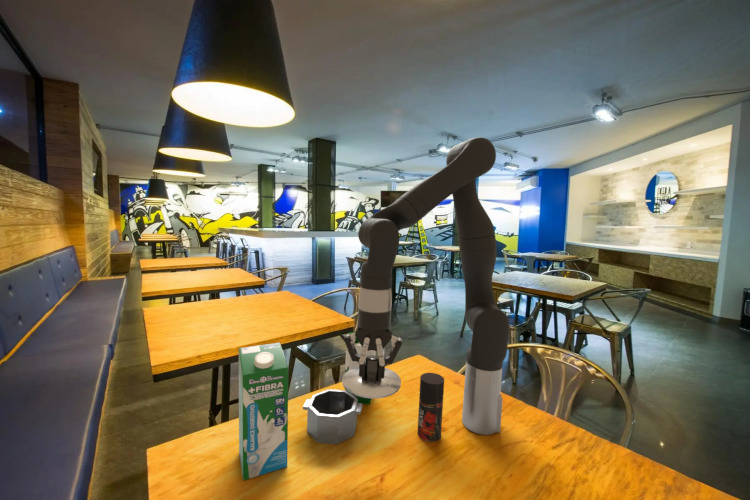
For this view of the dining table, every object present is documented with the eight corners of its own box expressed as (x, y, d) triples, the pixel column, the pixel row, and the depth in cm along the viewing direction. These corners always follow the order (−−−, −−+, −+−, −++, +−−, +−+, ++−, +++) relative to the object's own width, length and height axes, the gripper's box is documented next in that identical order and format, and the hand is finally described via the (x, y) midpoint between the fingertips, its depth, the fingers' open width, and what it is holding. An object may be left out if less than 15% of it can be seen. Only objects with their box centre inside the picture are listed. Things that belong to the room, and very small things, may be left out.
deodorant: (445, 434, 83) (448, 378, 82) (432, 445, 79) (435, 386, 77) (426, 423, 87) (429, 370, 86) (412, 433, 83) (415, 378, 81)
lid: (400, 370, 82) (401, 348, 81) (401, 400, 68) (402, 374, 68) (347, 366, 83) (348, 344, 82) (337, 395, 69) (338, 369, 69)
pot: (363, 416, 90) (364, 392, 89) (357, 446, 78) (358, 418, 77) (311, 411, 91) (311, 387, 90) (297, 440, 79) (297, 413, 78)
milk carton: (243, 481, 66) (242, 364, 64) (239, 452, 74) (238, 347, 72) (287, 467, 71) (288, 356, 68) (279, 441, 79) (280, 341, 76)
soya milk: (346, 389, 103) (347, 328, 101) (374, 390, 103) (376, 329, 101) (342, 405, 94) (344, 339, 92) (373, 406, 94) (376, 340, 92)
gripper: (405, 304, 77) (401, 373, 79) (346, 300, 78) (344, 369, 80) (406, 313, 70) (401, 389, 71) (341, 309, 71) (338, 384, 72)
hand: (371, 378), depth 75 cm, fingers closed on lid, 3 cm apart
